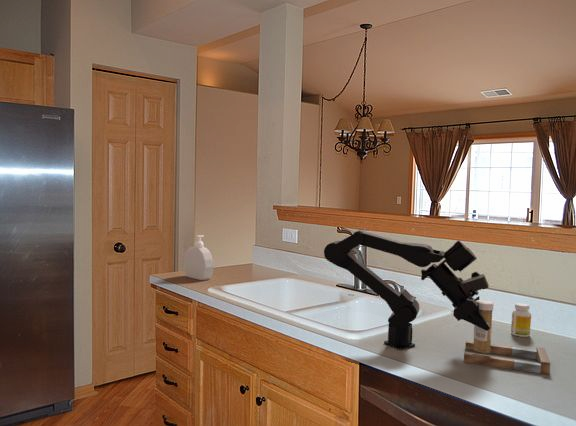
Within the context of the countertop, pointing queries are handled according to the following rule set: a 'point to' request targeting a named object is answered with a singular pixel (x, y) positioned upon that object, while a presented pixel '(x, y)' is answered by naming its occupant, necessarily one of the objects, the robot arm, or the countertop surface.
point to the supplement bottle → (521, 320)
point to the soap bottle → (198, 261)
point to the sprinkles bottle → (480, 335)
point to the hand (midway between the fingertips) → (488, 327)
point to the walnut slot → (539, 354)
